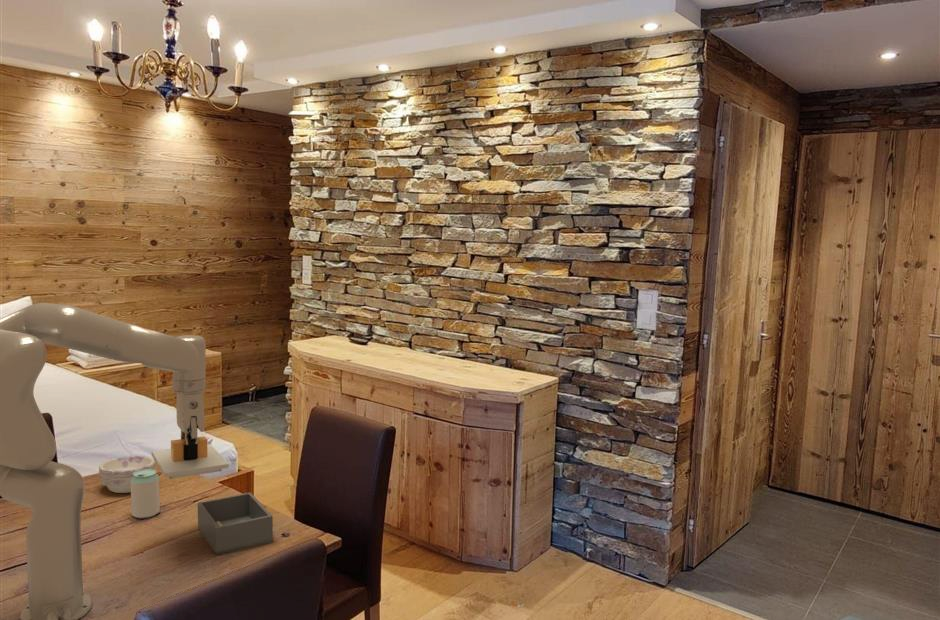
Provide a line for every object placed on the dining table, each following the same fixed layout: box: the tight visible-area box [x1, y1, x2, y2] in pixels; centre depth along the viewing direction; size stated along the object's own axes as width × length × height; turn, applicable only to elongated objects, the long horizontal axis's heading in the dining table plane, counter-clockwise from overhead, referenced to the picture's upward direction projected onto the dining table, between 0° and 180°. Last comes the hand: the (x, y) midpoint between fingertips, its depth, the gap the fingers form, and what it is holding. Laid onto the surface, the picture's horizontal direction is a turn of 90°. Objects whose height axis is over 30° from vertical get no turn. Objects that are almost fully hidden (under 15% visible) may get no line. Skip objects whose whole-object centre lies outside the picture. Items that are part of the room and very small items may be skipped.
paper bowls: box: [98, 455, 156, 494], centre depth 205 cm, size 15×15×8 cm
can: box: [130, 469, 161, 520], centre depth 187 cm, size 7×7×12 cm
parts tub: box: [197, 492, 274, 556], centre depth 177 cm, size 18×14×7 cm
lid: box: [151, 436, 229, 480], centre depth 169 cm, size 18×14×6 cm
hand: (189, 456), depth 169 cm, fingers closed on lid, 3 cm apart
